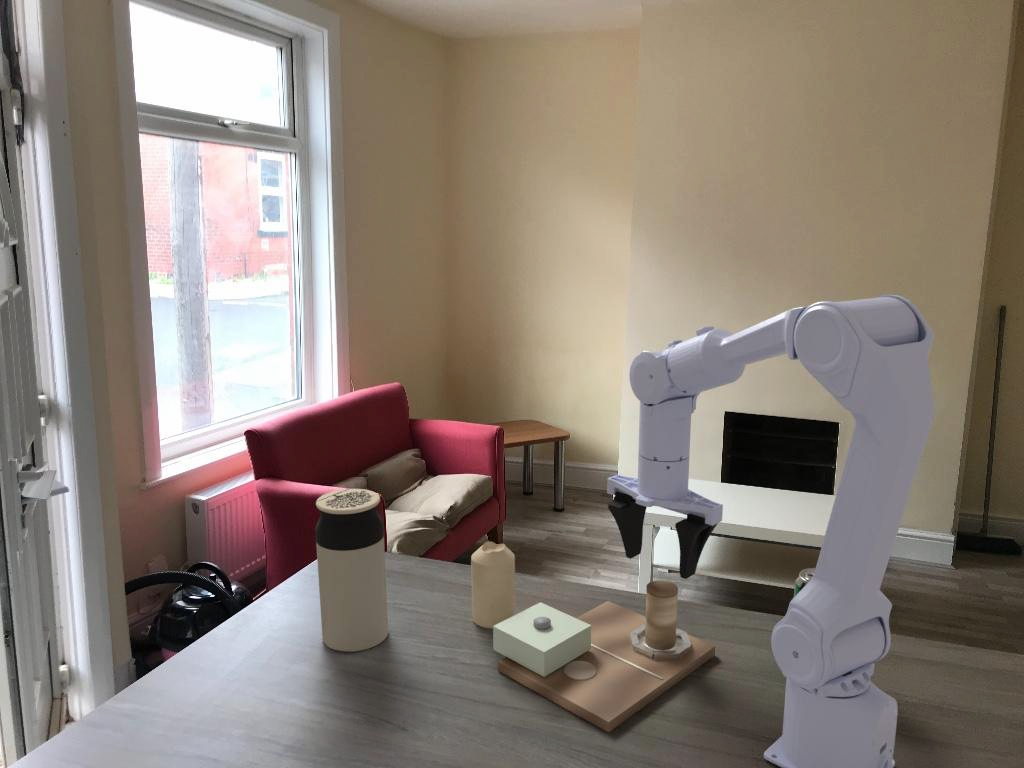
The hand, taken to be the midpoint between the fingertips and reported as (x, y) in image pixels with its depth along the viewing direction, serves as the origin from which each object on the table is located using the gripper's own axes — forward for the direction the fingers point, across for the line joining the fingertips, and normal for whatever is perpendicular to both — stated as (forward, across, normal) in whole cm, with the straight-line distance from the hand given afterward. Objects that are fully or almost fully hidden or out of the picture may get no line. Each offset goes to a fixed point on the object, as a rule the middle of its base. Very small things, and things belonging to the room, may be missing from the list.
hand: (659, 565), depth 96 cm
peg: (+9, +1, -1) cm, 9 cm away
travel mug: (+11, -28, -24) cm, 38 cm away
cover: (+9, -8, -12) cm, 17 cm away
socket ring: (+9, +1, -1) cm, 9 cm away
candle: (+11, -19, -9) cm, 24 cm away
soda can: (+11, +16, +7) cm, 21 cm away
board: (+10, -2, -7) cm, 13 cm away
